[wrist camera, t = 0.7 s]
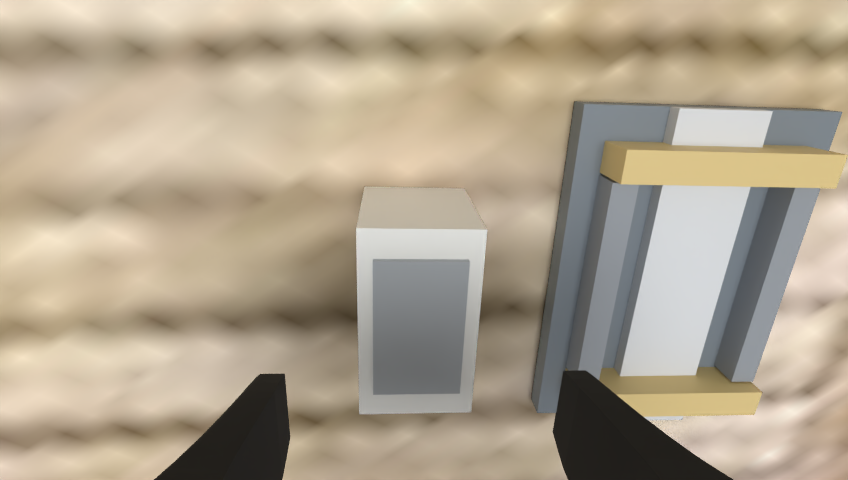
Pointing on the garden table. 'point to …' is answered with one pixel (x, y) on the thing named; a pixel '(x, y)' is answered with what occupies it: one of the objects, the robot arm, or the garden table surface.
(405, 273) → the block
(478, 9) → the garden table surface
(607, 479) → the robot arm
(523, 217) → the garden table surface
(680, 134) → the rail base
